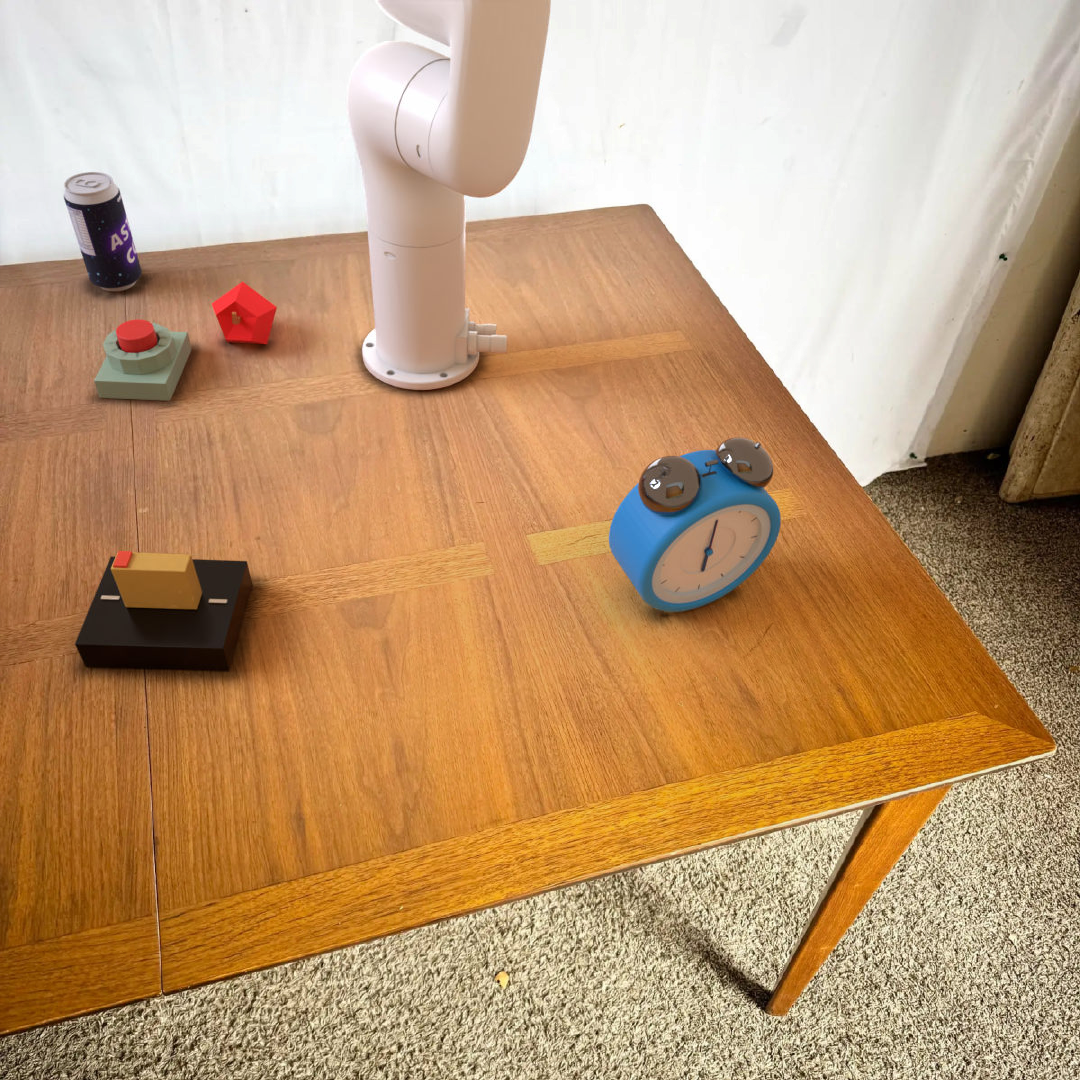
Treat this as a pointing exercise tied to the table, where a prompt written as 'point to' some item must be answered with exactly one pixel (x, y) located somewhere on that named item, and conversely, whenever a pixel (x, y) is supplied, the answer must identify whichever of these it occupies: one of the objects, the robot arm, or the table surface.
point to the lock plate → (169, 624)
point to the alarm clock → (697, 525)
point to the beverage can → (102, 230)
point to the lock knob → (157, 580)
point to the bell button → (136, 336)
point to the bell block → (143, 367)
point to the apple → (244, 315)
